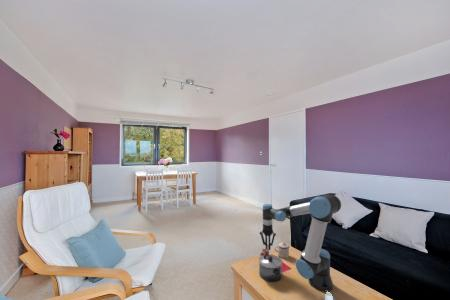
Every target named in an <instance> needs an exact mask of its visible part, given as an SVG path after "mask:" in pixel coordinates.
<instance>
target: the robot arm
mask: <svg viewBox="0 0 450 300" xmlns="http://www.w3.org/2000/svg"><path fill="white" fill-rule="evenodd" d="M341 209H342V202H341V200H340V198H339V196H336V195H335V194H332V193H331V194H324V195H321V196H315V197H313V198H312V199H311V200H310V201H308V202H303V203H299V204H295V205H291V206H286V207H282V208H277V209H276V208H273V205H272V204H270V203H264V204H262V230H261V231H259V235H260V237H261V240H262V244H263V245H264V246H265V249H266V250H267V252H268V255H270V251H271V247H272V246H273V245H274V240H275V237H276V236H277V233H276V232H274V230H273V220H275V221H277V222H285V220H286V219H287V218H291V217H296V216H301V215H307V214H310V217H311V222H310V227H309V229H308V230H309V231H308V235H307V238H306V243H305V244H306V245H305V247H304V249H303V250H301V254H300V257H299V259H297V260H296V261H295V268H296V270H297V272H298V274H299V275H300V276H301V277H302V278H304V279H306V280H308V283H309V286H311V287H312V288H314V289H315V290H319V291H322V292H326V291H325V290H330V291H332V290H333V289H334V283H333V279H332V276H331V254H330V252H329V251H328V250H326V249H324V248H322V246H323V242H324V238H325V234H326V230H327V227H328V223H329V224H330V223H331V221H332V217H333V215H334V214H336V213H338V212H340V210H341ZM271 237H272V239H271Z"/></svg>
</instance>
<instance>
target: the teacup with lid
mask: <svg viewBox="0 0 450 300" xmlns="http://www.w3.org/2000/svg"><path fill="white" fill-rule="evenodd" d="M276 248H277V249H278V250H277V249H276ZM274 251H275V252H276V253H278V257H279V258H281V259H288V258H289V257H290V252H289V251H290V245H289V244H288V243H286V242H285V241H282V242H280V243H278V245H276V246H275V247H274Z"/></svg>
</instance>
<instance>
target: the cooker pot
mask: <svg viewBox="0 0 450 300" xmlns="http://www.w3.org/2000/svg"><path fill="white" fill-rule="evenodd" d="M262 255H264V254H263V252H260V256H262ZM258 263H259V262H258ZM258 266H259V268H258V269H259V270H258V271H259V273H258V275H259V277H260V278H261V279H262V280H264V281H266V282H270V283H276V282H279V281H281V279H282V277H283V276H282V275H283V271H282V266H283V265H282V266H281V267H280V268H277V269H269V268H265V267H263V266H262V265H261V264H260V263H259V265H258Z"/></svg>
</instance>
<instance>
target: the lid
mask: <svg viewBox="0 0 450 300" xmlns="http://www.w3.org/2000/svg"><path fill="white" fill-rule="evenodd" d="M261 253H263V254H264V255H262V256H261V255H260V256H259V257H258V263H260V264H261V265H262V266H263V267H265V268H269V269H277V268H280V267H281V266H283V260H282V258H281V257H280V256H277V255H274V254H269V255H268V252H267V250H266V248H262V250H261Z"/></svg>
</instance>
